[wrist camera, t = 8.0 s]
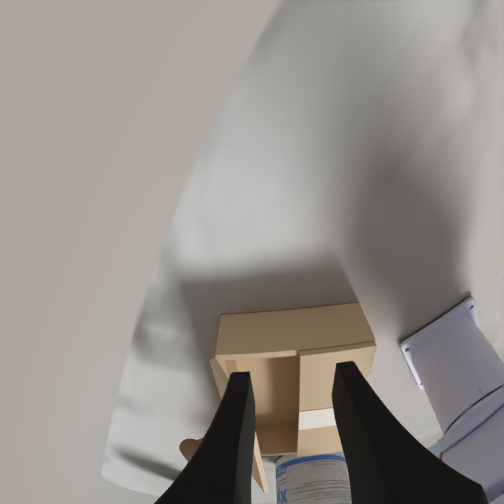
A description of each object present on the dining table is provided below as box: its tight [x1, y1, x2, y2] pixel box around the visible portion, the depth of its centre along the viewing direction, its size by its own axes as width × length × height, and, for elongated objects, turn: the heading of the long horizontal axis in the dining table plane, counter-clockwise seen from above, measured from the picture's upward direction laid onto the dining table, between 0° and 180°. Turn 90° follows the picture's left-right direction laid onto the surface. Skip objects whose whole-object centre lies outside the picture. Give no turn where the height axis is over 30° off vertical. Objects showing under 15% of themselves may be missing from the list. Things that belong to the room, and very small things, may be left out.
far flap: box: [179, 357, 269, 494], centre depth 18 cm, size 5×16×5 cm
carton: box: [215, 302, 376, 457], centre depth 23 cm, size 10×16×4 cm, turn 6°
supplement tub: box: [276, 451, 352, 504], centre depth 27 cm, size 10×10×15 cm
